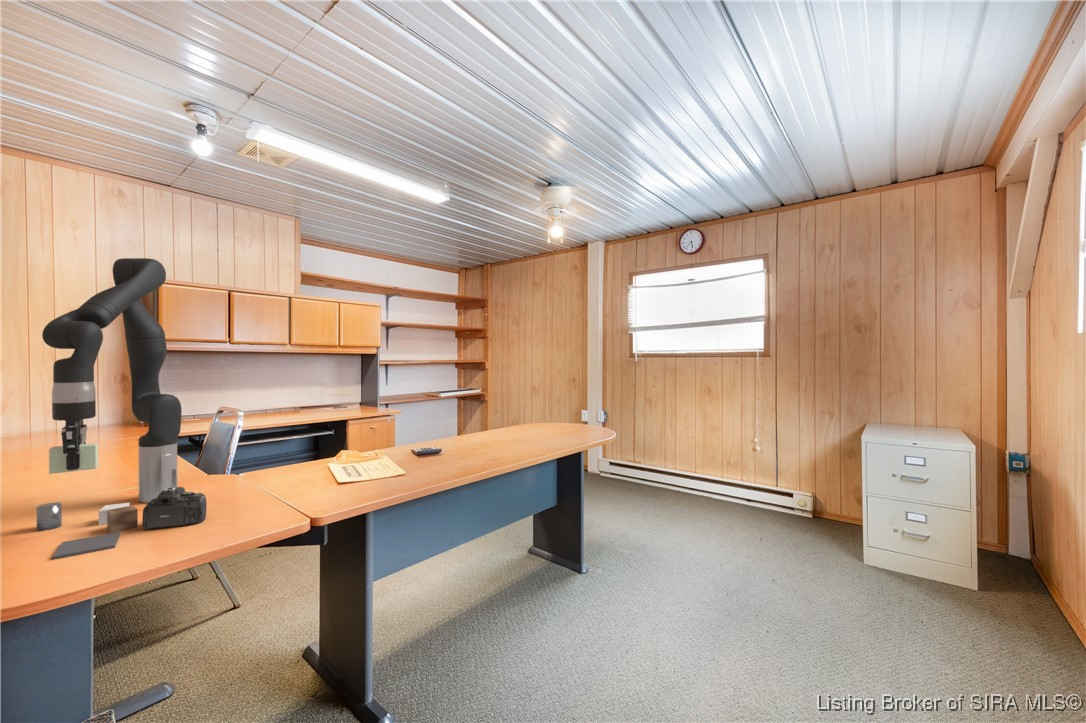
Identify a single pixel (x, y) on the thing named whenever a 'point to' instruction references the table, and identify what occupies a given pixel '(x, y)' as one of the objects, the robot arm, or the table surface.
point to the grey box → (104, 512)
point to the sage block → (86, 458)
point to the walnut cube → (122, 519)
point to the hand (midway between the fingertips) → (75, 467)
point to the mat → (86, 545)
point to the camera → (174, 509)
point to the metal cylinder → (49, 516)
